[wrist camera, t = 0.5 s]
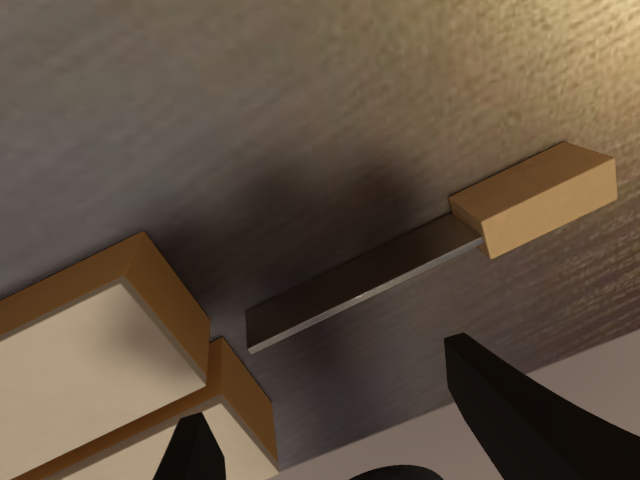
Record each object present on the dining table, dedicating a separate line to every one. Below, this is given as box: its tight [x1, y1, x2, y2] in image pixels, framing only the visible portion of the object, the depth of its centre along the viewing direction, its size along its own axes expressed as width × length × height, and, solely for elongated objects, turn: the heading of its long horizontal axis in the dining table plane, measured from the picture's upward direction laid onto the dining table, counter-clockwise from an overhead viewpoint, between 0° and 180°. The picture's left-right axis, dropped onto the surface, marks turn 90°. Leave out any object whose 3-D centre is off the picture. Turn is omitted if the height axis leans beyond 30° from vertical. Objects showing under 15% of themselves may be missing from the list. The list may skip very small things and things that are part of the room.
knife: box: [245, 142, 618, 354], centre depth 20 cm, size 18×2×3 cm, turn 113°
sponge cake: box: [0, 231, 279, 480], centre depth 20 cm, size 13×12×5 cm
